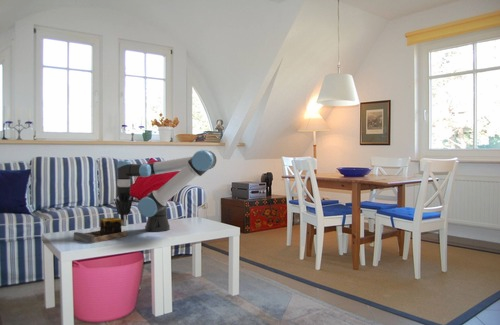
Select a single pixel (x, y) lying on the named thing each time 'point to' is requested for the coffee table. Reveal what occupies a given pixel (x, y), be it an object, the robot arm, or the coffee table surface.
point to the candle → (110, 226)
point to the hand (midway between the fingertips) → (123, 225)
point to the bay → (91, 239)
